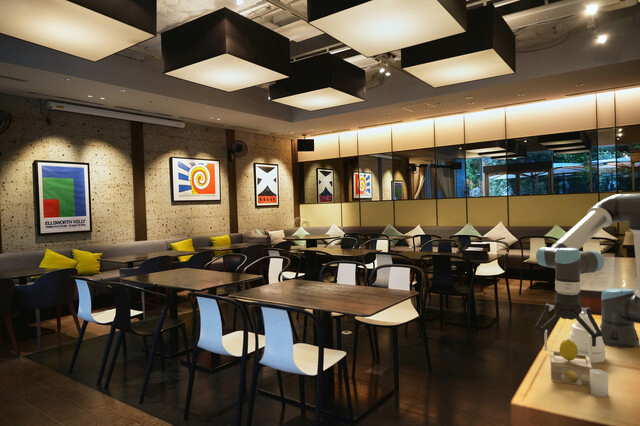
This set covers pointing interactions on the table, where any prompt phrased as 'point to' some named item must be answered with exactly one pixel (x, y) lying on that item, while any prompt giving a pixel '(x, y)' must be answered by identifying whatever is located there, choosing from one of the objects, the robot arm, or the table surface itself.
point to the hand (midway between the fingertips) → (567, 352)
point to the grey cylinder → (598, 383)
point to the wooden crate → (571, 369)
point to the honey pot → (587, 340)
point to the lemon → (568, 350)
